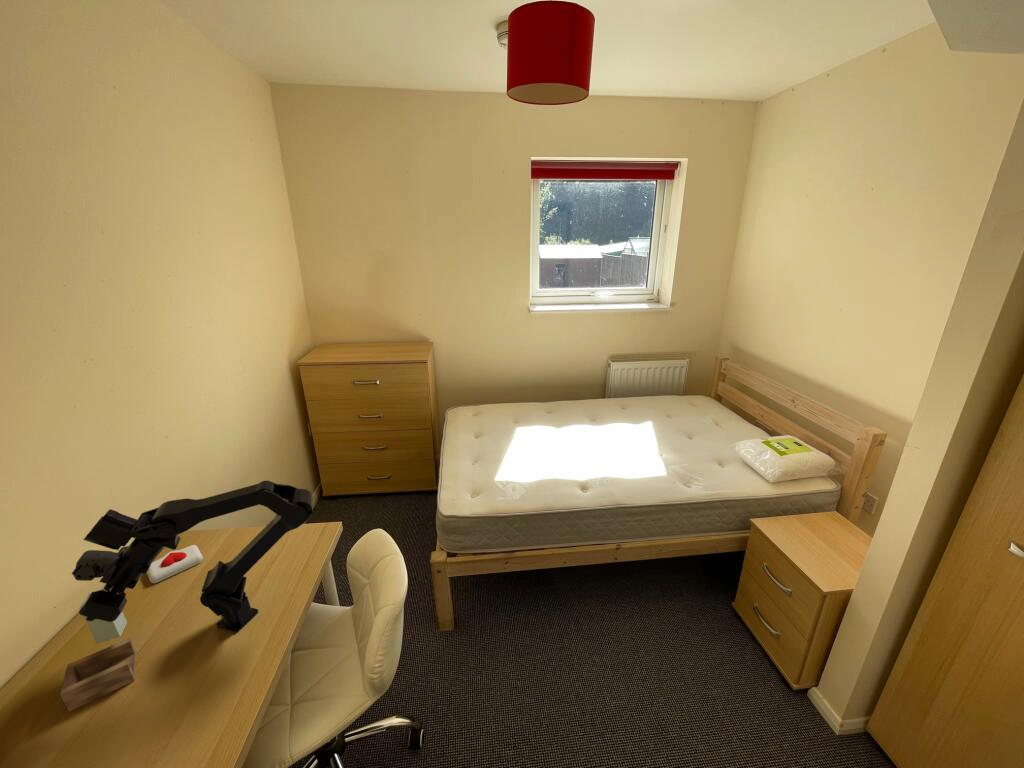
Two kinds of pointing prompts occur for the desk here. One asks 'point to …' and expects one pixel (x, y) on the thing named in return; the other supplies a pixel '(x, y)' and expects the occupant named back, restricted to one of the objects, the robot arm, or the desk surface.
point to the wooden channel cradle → (98, 674)
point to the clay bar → (105, 627)
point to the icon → (174, 563)
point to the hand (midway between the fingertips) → (93, 612)
